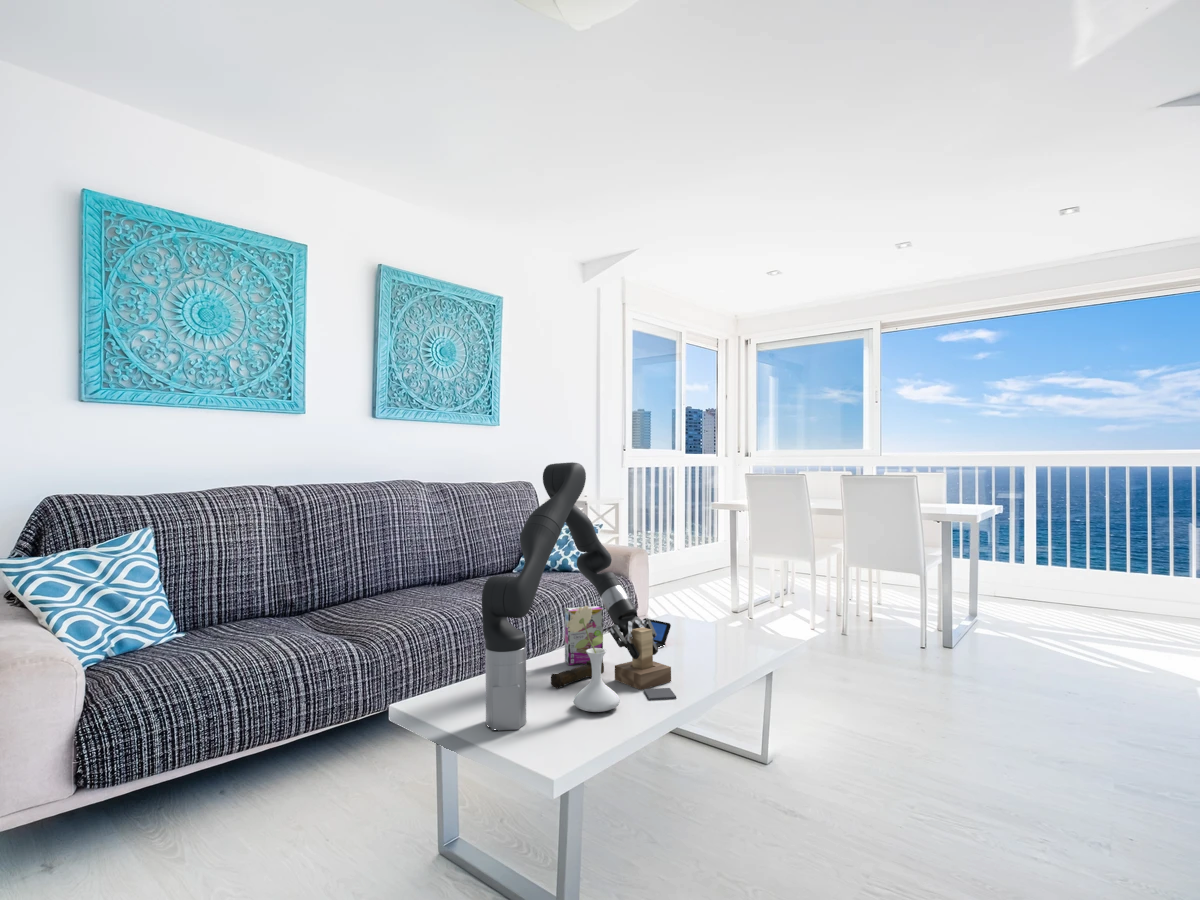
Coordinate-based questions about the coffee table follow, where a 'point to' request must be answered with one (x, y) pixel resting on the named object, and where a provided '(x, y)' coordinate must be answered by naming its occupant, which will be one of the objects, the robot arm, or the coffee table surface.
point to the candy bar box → (582, 636)
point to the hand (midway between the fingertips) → (646, 655)
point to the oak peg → (643, 648)
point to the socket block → (642, 675)
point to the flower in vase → (596, 691)
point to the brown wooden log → (573, 675)
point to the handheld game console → (660, 631)
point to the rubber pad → (659, 693)
